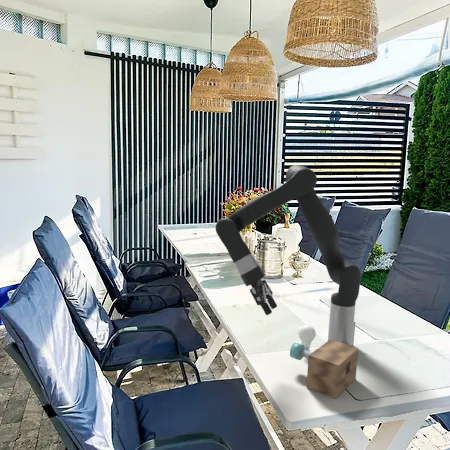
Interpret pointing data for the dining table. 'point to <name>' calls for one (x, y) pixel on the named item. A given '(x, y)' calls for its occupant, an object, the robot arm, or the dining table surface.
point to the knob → (299, 351)
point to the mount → (332, 368)
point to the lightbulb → (306, 335)
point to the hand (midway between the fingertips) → (272, 310)
